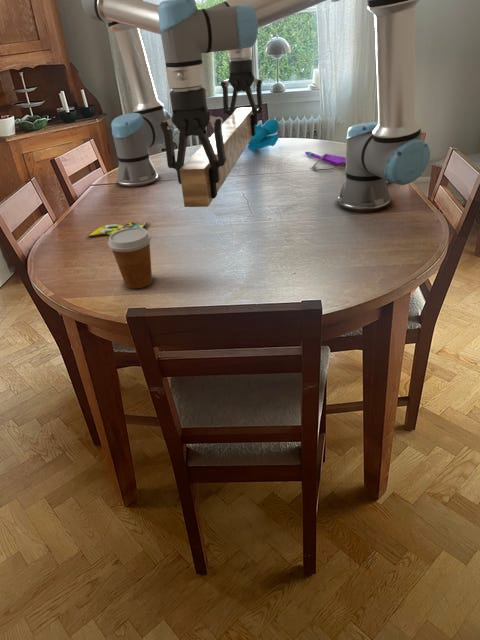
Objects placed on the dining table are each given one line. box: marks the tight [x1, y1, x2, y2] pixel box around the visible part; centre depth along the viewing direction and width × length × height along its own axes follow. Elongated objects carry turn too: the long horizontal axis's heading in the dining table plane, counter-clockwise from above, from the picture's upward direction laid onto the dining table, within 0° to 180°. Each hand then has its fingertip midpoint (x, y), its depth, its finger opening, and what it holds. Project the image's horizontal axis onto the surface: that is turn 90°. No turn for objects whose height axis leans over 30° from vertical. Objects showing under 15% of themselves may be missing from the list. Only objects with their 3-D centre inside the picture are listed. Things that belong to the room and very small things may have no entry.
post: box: [180, 107, 253, 208], centre depth 137 cm, size 75×6×8 cm, turn 170°
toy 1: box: [88, 221, 148, 238], centre depth 142 cm, size 10×1×15 cm
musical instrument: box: [304, 151, 346, 171], centre depth 185 cm, size 24×2×20 cm
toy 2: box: [247, 118, 280, 153], centre depth 207 cm, size 17×11×30 cm
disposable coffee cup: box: [107, 227, 153, 289], centre depth 110 cm, size 10×10×12 cm
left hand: (244, 134), depth 166 cm, fingers closed on post, 6 cm apart
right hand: (201, 196), depth 112 cm, fingers closed on post, 6 cm apart
